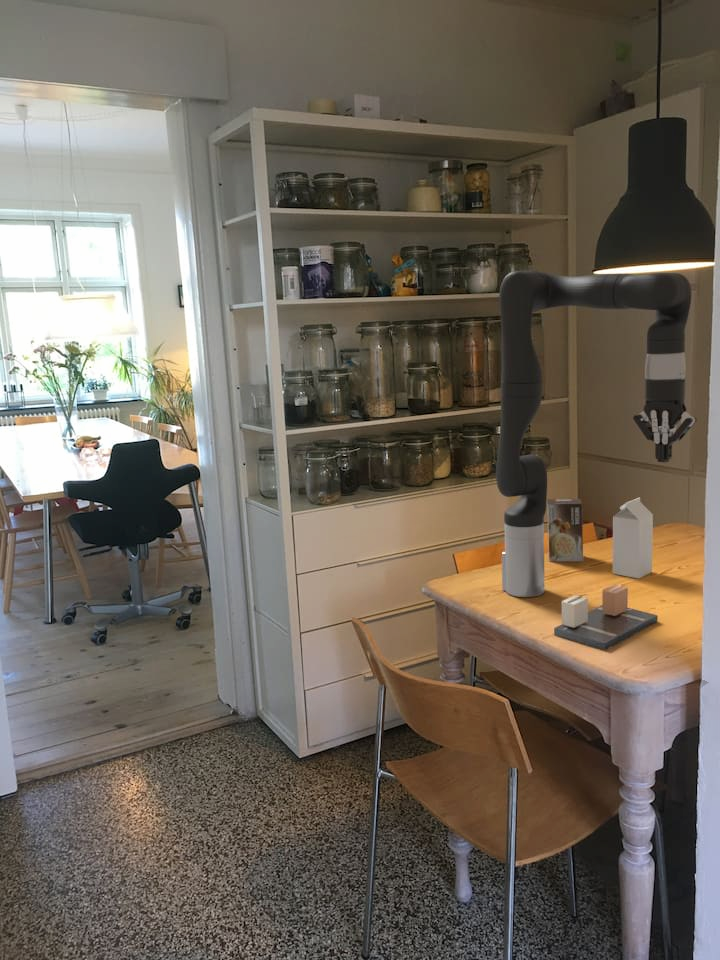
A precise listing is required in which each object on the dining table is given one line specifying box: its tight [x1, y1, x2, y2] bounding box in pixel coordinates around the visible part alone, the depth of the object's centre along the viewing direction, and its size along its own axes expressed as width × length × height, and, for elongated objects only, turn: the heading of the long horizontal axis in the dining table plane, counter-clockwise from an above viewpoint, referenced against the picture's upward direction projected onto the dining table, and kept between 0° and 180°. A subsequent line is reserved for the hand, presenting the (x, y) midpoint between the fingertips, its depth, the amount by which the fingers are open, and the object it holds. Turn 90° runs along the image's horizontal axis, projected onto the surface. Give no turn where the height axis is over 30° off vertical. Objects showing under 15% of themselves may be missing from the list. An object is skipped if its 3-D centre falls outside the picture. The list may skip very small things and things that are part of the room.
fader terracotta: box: [601, 584, 629, 616], centre depth 172 cm, size 3×5×5 cm, turn 131°
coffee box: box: [546, 498, 584, 563], centre depth 215 cm, size 9×6×16 cm
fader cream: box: [561, 595, 589, 628], centre depth 167 cm, size 3×5×5 cm, turn 131°
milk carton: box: [612, 497, 654, 579], centre depth 200 cm, size 7×7×19 cm
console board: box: [553, 604, 659, 651], centre depth 168 cm, size 12×20×2 cm, turn 131°
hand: (663, 461), depth 162 cm, fingers closed
